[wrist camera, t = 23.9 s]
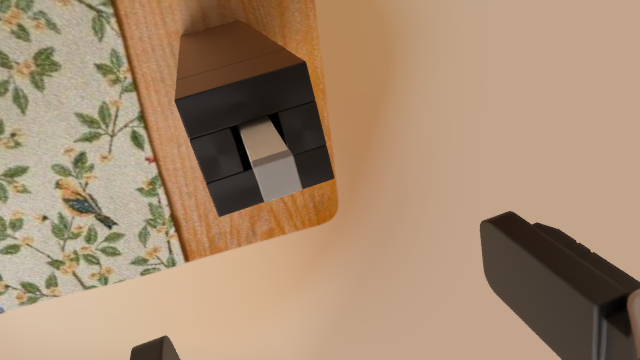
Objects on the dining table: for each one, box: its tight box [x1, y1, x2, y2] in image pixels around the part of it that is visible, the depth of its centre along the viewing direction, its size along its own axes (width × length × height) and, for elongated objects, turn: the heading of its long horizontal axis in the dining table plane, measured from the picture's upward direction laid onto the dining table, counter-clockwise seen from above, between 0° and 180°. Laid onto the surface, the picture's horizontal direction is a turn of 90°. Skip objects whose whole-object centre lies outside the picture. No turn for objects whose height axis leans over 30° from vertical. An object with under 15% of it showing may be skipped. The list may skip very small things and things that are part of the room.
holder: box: [175, 20, 334, 217], centre depth 37 cm, size 6×6×30 cm
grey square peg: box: [237, 116, 302, 202], centre depth 23 cm, size 2×2×10 cm
